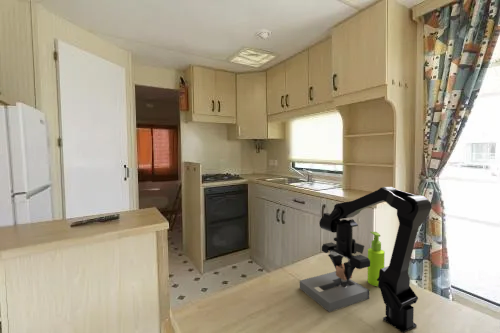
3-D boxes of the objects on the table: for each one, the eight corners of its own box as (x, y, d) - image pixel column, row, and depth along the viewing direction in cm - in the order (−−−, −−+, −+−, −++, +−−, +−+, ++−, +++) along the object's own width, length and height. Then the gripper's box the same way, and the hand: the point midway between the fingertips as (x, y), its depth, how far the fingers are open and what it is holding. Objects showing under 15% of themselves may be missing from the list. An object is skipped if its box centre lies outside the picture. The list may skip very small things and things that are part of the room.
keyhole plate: (336, 278, 101) (336, 271, 101) (369, 298, 86) (369, 290, 86) (299, 288, 93) (299, 280, 93) (329, 312, 79) (329, 303, 78)
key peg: (352, 290, 91) (352, 267, 90) (343, 292, 89) (344, 269, 89) (343, 284, 95) (343, 263, 94) (335, 287, 93) (335, 265, 93)
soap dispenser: (379, 278, 101) (379, 230, 100) (386, 287, 94) (387, 236, 93) (364, 277, 101) (364, 230, 101) (370, 286, 95) (371, 235, 94)
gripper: (381, 240, 86) (380, 283, 87) (341, 227, 103) (341, 263, 104) (358, 245, 81) (358, 290, 82) (320, 230, 98) (320, 268, 99)
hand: (343, 276), depth 92 cm, fingers closed on key peg, 4 cm apart
